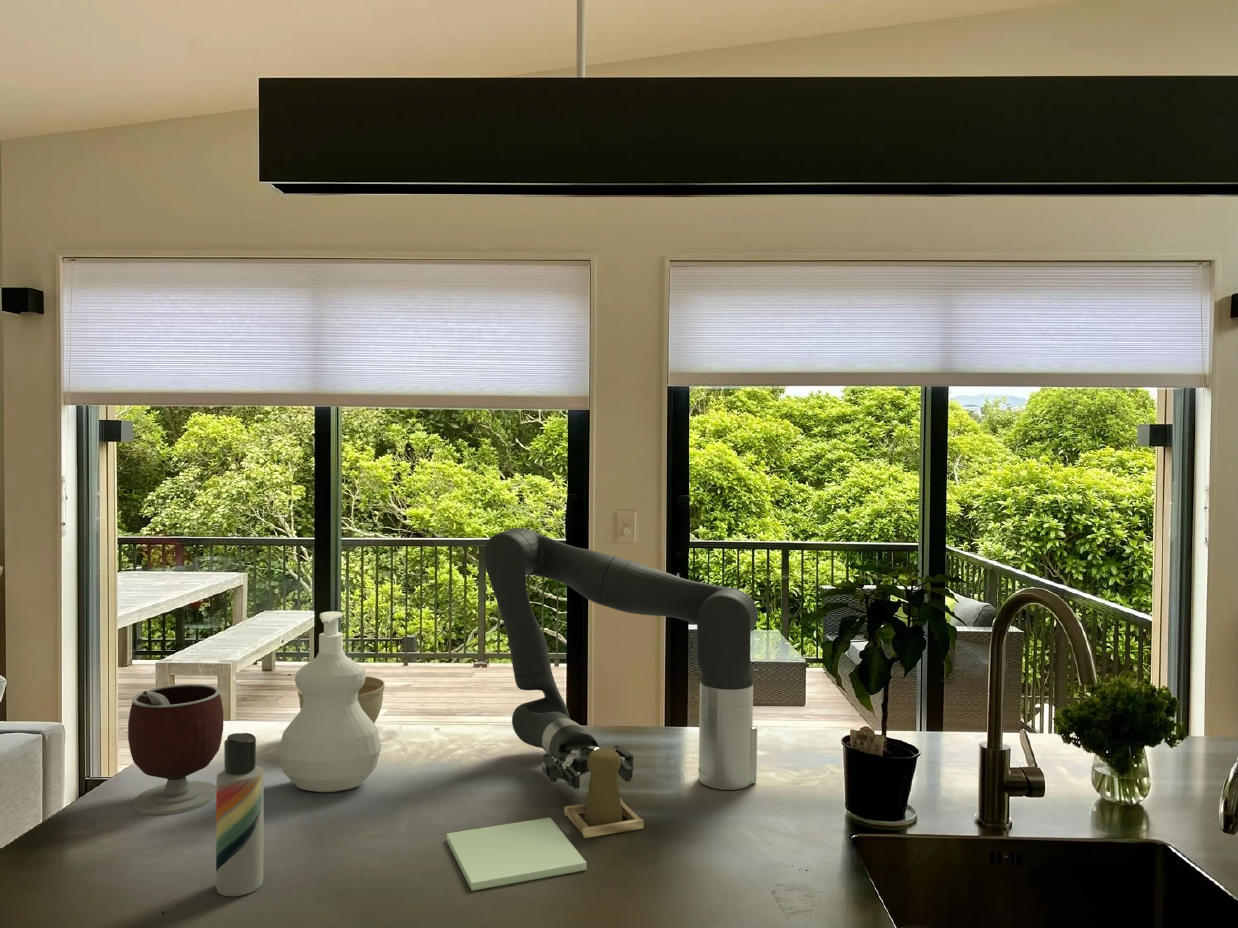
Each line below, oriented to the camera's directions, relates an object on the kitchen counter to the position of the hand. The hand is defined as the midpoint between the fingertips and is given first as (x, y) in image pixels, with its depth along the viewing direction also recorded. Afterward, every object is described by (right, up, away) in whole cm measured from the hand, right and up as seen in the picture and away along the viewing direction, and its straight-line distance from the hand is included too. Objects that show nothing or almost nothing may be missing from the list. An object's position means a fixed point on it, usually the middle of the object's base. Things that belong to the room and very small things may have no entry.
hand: (603, 778), depth 140 cm
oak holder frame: (0, -7, 0) cm, 7 cm away
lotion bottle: (-47, -7, -22) cm, 52 cm away
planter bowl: (-52, -5, +36) cm, 63 cm away
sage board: (-13, -7, -11) cm, 18 cm away
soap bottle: (-47, -6, +13) cm, 49 cm away
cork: (0, -7, 0) cm, 7 cm away
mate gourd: (-70, -6, +6) cm, 70 cm away
